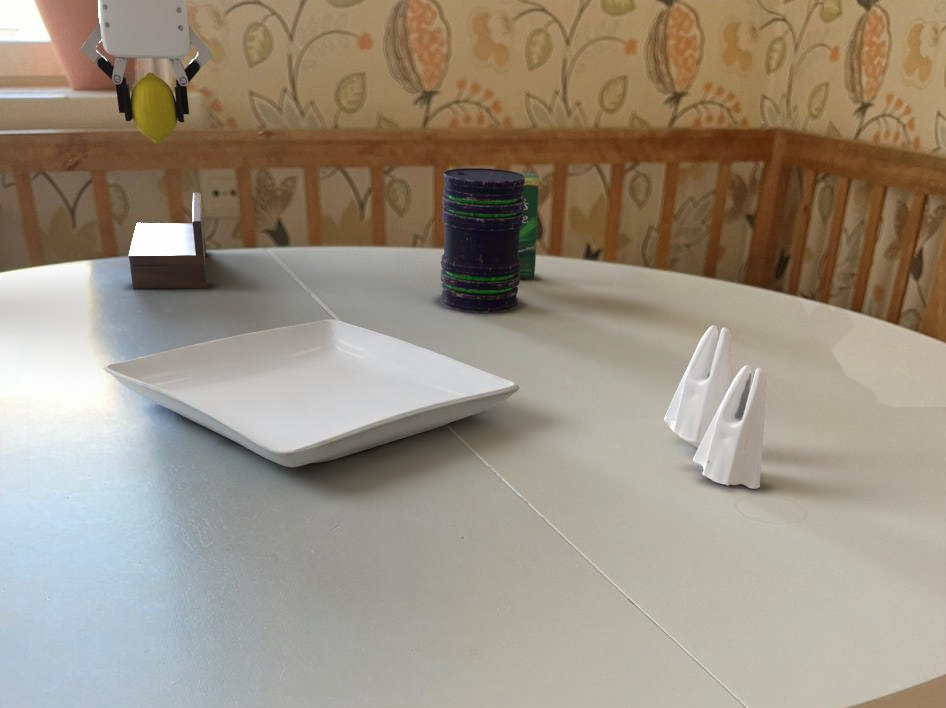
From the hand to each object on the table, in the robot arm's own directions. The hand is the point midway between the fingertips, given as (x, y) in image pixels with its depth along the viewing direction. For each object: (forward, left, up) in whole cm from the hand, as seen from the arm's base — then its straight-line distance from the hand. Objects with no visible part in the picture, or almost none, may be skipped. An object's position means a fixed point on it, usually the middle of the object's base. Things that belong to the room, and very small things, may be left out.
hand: (155, 118), depth 130 cm
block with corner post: (0, 0, -18) cm, 18 cm away
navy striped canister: (+40, +14, -18) cm, 46 cm away
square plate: (+50, -29, -18) cm, 60 cm away
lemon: (0, 0, -3) cm, 3 cm away
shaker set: (+84, -17, -18) cm, 87 cm away
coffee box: (+35, +28, -18) cm, 48 cm away
